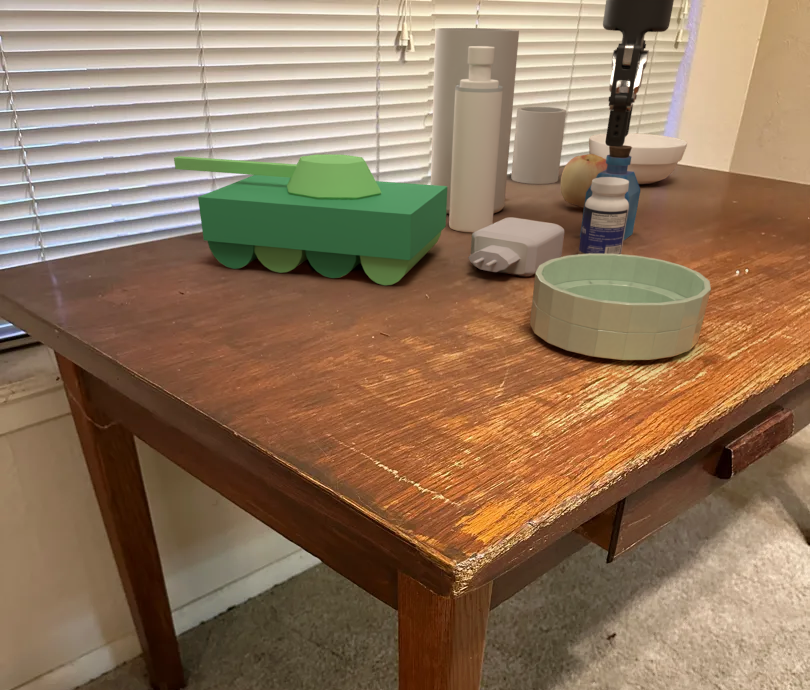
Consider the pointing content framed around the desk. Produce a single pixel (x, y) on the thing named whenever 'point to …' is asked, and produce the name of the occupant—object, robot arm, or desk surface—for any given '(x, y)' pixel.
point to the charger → (516, 246)
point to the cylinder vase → (446, 76)
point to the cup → (538, 144)
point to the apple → (580, 177)
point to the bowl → (645, 154)
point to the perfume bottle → (618, 169)
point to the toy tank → (318, 216)
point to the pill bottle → (605, 217)
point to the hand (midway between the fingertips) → (616, 141)
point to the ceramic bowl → (619, 306)
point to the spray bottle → (475, 144)
